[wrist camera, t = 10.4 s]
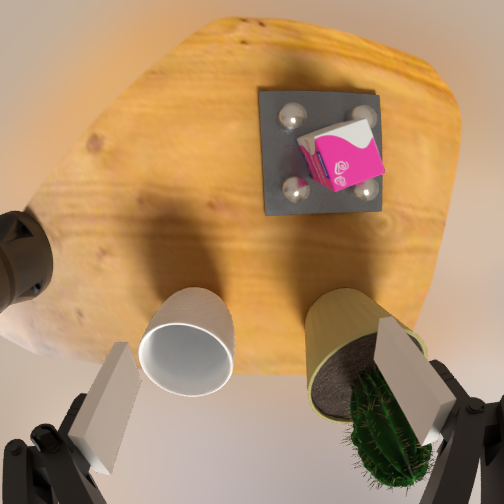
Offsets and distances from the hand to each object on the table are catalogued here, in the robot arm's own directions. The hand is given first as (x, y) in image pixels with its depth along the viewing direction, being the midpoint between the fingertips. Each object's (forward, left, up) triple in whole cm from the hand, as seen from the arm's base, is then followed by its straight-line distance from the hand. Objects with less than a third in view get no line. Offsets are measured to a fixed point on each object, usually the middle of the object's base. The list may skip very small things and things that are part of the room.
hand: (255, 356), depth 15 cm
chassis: (+10, +9, -28) cm, 31 cm away
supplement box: (+10, +9, -27) cm, 30 cm away
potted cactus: (+13, -16, -28) cm, 34 cm away
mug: (-9, -13, -28) cm, 32 cm away
